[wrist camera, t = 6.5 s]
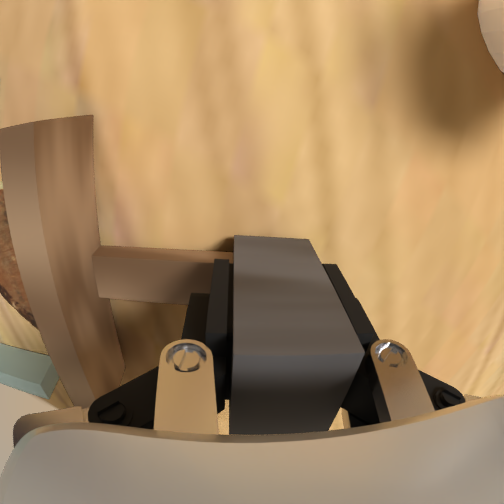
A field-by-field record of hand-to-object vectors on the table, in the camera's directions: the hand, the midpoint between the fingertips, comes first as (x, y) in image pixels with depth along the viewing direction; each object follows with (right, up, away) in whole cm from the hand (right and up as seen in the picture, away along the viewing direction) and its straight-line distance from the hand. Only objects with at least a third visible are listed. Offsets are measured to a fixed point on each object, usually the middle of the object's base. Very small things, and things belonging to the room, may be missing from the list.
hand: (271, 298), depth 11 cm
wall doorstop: (-4, +1, +1) cm, 4 cm away
